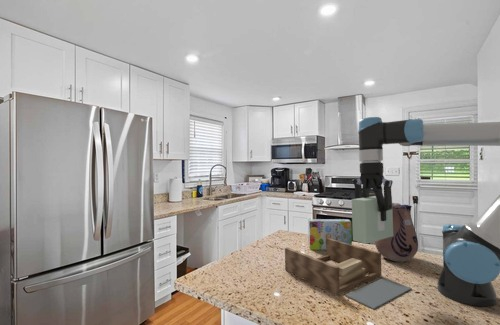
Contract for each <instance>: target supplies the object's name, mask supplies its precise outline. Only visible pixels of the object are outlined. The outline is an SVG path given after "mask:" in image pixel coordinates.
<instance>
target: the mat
mask: <svg viewBox="0 0 500 325" xmlns="http://www.w3.org/2000/svg"><path fill="white" fill-rule="evenodd" d="M411 290H412V287H410V286H407V285H403V284H401V283H398V282H396V281H393V280H390V279H387V278H385V277H383V278H380V279H379V280H376V281H374V282H372V283H368V284H367V285H365V286H362V287H360V288H357V289H355V290H353V291H351V292H349V293H346V294H344V295H345V297H346V298H348V299H351V300H353V301H355V302H357V303H359V304H361V305H363V306H365V307H368V308H369V309H371V310H376V309H378V308H379V307H382V306H383V305H384V304H387V303H389V302H390V301H392V300H394V299H396V298H398V297H400V296H403V294H406V293H408V292H409V291H411Z"/></svg>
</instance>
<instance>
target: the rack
mask: <svg viewBox="0 0 500 325" xmlns="http://www.w3.org/2000/svg"><path fill="white" fill-rule="evenodd" d="M351 258H354V259H358V260H361V261H362V268H365V273H366V274H368V275H366V276H365V277H363V278H360V279H358V280H355V281H353V282H350V283H348V284H345V285H343V286H341V287H339V267H337V266H335V265H336V264H332V263H329V262H326V261H328V260H332V261H334V262H337V263H341V262H344V261H346V260H349V259H351ZM284 264H285V265H284V266H285V268H284V270H285V271H287V272H289V273H291V274H293V275H294V276H297V277H299V278H301V279H303V280H305V281H307V282H308V283H311V284H313V285H315V286H317V287H319V288H321V289H322V290H323V289H324V291H326V292H329V293H331V294H333V295H335V296H338V295H341V294H343V293H345V292H348V291H349V290H352V289H354V288H356V287H359V286H362V285H364V284H366V283H369V282H370V281H373V280H375V279H377V278H380V277H382V255H381V253H380V252H378V251H376V250H372V249H369V248H365V247H362V246H358V245H354V244H352V245H351V244H348V243H344V242H341V241H337V240H334V239H330V238H326V250H325V255H323V256H320V257H319V256H318V257H314V256H310V255H308V254H306V253H303V252H301V251H298V250H295V249H292V248H290V247H285V248H284Z"/></svg>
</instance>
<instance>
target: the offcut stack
mask: <svg viewBox="0 0 500 325" xmlns="http://www.w3.org/2000/svg"><path fill="white" fill-rule="evenodd" d="M334 265H335V266H337V267H339V287H341V286H343V285H345V284H348V283H350V282H353V281H355V280H358V279H360V278H363V277H365V276H367V275H366V274H367V272H365V268H362V261H361V260H358V259H354V258H351V259H349V260H346V261H344V262H341V263H340V262H338V263H337V264H334Z"/></svg>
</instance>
